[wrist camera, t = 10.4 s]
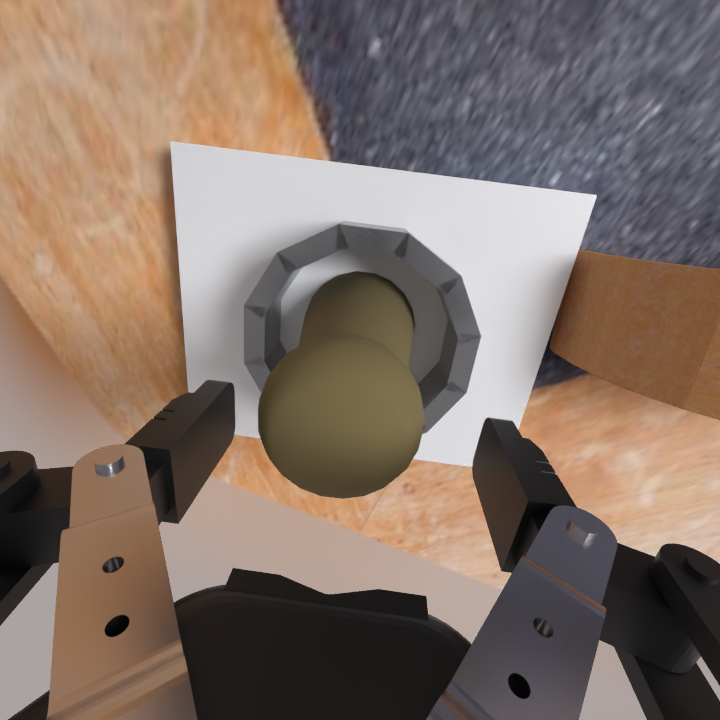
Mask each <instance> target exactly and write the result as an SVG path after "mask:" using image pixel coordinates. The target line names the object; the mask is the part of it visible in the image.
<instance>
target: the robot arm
mask: <svg viewBox="0 0 720 720" xmlns="http://www.w3.org/2000/svg"><path fill="white" fill-rule="evenodd" d="M234 432H235V389H234V385H233V383H231V382H224V381H216V380H206V381H205V382H204V383H203V384H202V385H201V386H200V387H199V388H198V389H197V390H196V391H195V392H194V393H189V392H188V393H186V394H184V395H182V396H180V397H177V398H175V399H173V400H172V401H171V402H170V403H169V404H168V405H167V406H165V407H164V408H163V411H160V412H159V413H158V414H157V415H156V416H155V417H154V419H151V420H150V421H149V422H148V423H147V424H146V425H145V426H144V427H143V428H142V429H140V430H139V431H138V432H137V433H136V434H135V435H134V436H133V437H132V438H131V439H130V440H129V441H127V442H126V443H125V444H122V445H121V444H120V445H111V446H107V447H102V448H100V449H97V450H94V451H92V452H90V453H88V454H86V455H85V456H83V457H82V458H81V459H80V460H78V462H77V463H76V464H75V466H74V467H62V468H50V469H37V465H36V462H35V458H34V456H33V455H31V454H30V453H27V452H23V451H6V452H0V625H1V624H2V623H3V622H4V621H5V620H6V618H7V617H8V616H9V615H10V614H11V612H12V611H13V610H14V609H15V608H16V607H17V605H18V604H19V603H20V602H21V601H22V600H23V598H24V597H25V596H26V595H27V594H28V593H29V591H30V590H31V589H32V588H33V587H34V585H35V584H36V583H37V582H38V581H39V580H40V578H41V577H42V576H43V575H44V574H45V573H46V571H47V570H48V569H49V568H50V567H51V565H52V564H53V563H58V562H59V569H58V582H57V597H56V611H55V624H54V637H53V652H52V665H51V680H50V690H49V691H48V692H46V693H45V694H43V695H42V696H41V697H39V698H38V699H36V700H35V701H33V702H32V703H31V704H29V705H28V706H26V707H25V708H24V709H22V710H21V711H19V712H18V713H17V714H15V715H14V716H12V717H11V718H10V719H8V720H579V716H580V713H581V709H582V705H583V701H584V697H585V693H586V689H587V685H588V681H589V677H590V674H591V670H592V666H593V662H594V658H595V654H596V650H597V646H598V642H599V640H601V641H603V642H605V643H608V644H610V645H612V646H614V647H615V650H616V652H617V654H618V656H619V659H620V661H621V663H622V665H623V668H624V670H625V672H626V674H627V676H628V678H629V681H630V683H631V685H632V687H633V690H634V692H635V694H636V696H637V698H638V700H639V702H640V705H641V707H642V709H643V712H644V714H645V716H646V718H647V720H720V701H719V699H718V698H717V696H716V694H715V693H714V691H713V689H712V688H711V686H710V685H709V683H708V681H707V680H706V678H705V676H704V675H703V673H702V671H701V670H700V668H699V667H698V665H697V663H696V662H697V660H698V659H699V658H700V657H701V656H702V658H703V660H704V661H705V663H706V664H707V666H708V668H709V669H710V671H711V673H712V674H713V675H714V677H715V679H716V680H717V682H718V684H719V685H720V564H719V563H718V562H716V561H715V560H713V559H712V558H710V557H708V556H707V555H705V554H703V553H701V552H699V551H697V550H695V549H693V548H690V547H687V546H684V545H680V544H666V545H664V546H662V547H661V549H660V550H659V552H658V554H657V555H656V557H654V556H651V555H649V554H646V553H643V552H640V551H638V550H635V549H632V548H630V547H627V546H624V545H622V544H619V543H617V540H616V538H615V536H614V534H613V532H612V531H611V530H610V529H609V527H608V526H607V525H606V524H605V523H603V522H602V521H601V520H600V519H598V518H597V517H595V516H594V515H592V514H590V513H589V512H587V511H584V510H582V509H579V508H577V507H576V505H575V504H574V502H573V500H572V499H571V497H570V495H569V494H568V492H567V491H566V489H565V487H564V486H563V484H562V482H561V481H560V479H559V478H558V476H557V475H555V471H554V469H553V468H552V466H551V465H549V461H548V460H547V458H546V456H545V455H544V453H543V451H542V450H541V449H540V448H539V447H538V446H536V445H535V444H534V443H533V442H532V441H531V440H529V439H526V438H522V436H521V434H520V433H519V431H518V429H517V427H516V425H515V424H514V422H513V421H511V420H503V419H496V418H489V417H488V418H486V419H485V421H484V423H483V427H482V430H481V434H480V437H479V441H478V444H477V448H476V451H475V455H474V458H473V466H472V472H473V479H474V482H475V485H476V489H477V492H478V495H479V498H480V502H481V505H482V508H483V512H484V515H485V518H486V522H487V525H488V528H489V531H490V535H491V538H492V541H493V545H494V548H495V551H496V555H497V558H498V561H499V564H500V568H501V571H504V572H511V573H512V574H511V576H510V578H509V580H508V581H507V583H506V585H505V587H504V589H503V590H502V592H501V594H500V596H499V597H498V599H497V601H496V603H495V604H494V606H493V608H492V610H491V611H490V613H489V615H488V617H487V619H486V620H485V622H484V624H483V626H482V627H481V629H480V631H479V633H478V634H477V636H476V638H475V640H474V642H473V643H472V644H471V643H470V642H469V641H468V640H467V639H466V638H464V637H463V636H462V635H461V634H460V633H459V632H458V631H456V630H454V629H453V628H452V627H451V626H449V625H447V624H446V623H444V622H443V621H441V620H439V619H437V618H436V617H433V616H431V615H429V614H428V610H427V599H426V596H421V595H414V594H408V593H401V592H394V591H387V590H380V589H376V590H367V591H359V592H349V593H341V594H324V593H321V592H319V591H316V590H314V589H312V588H309V587H307V586H304V585H302V584H300V583H298V582H295V581H293V580H291V579H288V578H286V577H283V576H281V575H276V574H270V573H263V572H256V571H249V570H242V569H235V568H233V569H232V572H231V574H230V576H229V579H228V581H227V583H226V585H220V586H215V587H211V588H206V589H203V590H201V591H198V592H195V593H192V594H190V595H188V596H186V597H184V598H181V599H179V600H178V601H176V602H173V597H172V592H171V587H170V583H169V577H168V572H167V567H166V562H165V556H164V551H163V546H162V541H161V536H160V531H159V525H160V523H161V522H162V521H163V522H170V523H177V524H178V523H179V522H180V520H181V519H182V517H183V516H184V514H185V513H186V511H187V510H188V508H189V507H190V505H191V504H192V502H193V500H194V499H195V497H196V496H197V494H198V493H199V491H200V490H201V488H202V487H203V485H204V483H205V482H206V481H207V479H208V478H209V476H210V474H211V473H212V471H213V470H214V468H215V467H216V465H217V464H218V462H219V461H220V459H221V458H222V456H223V455H224V453H225V452H226V450H227V448H228V447H229V445H230V444H231V442H232V439H233V436H234Z"/></svg>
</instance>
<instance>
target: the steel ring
mask: <svg viewBox="0 0 720 720" xmlns="http://www.w3.org/2000/svg"><path fill="white" fill-rule="evenodd" d="M340 250H350V251H358V252H365V253H373V254H381V255H389V256H396V257H399V258H401V259H402V260H403V261H404V262H406V263H407V264H408V265H409V266H411V267H412V268H413V269H414V270H416V271H417V272H418V273H420V274H421V275H422V276H423V277H425V278H426V279H427V280H428V281H430V282H431V283H432V284H433V285H435V286H436V288H437V291H438V293H439V296H440V299H441V302H442V305H443V307H444V310H445V313H446V316H447V319H448V323H447V327H446V332H445V336H444V341H443V346H442V350H441V355H440V359H439V362H438V363H437V364H436V365H435V366H434V367H433V368H432V369H431V371H430V372H429V373H428V374H427V375H426V376H425V377H424V378H423V379H422V380H421V381H420V382H419V384H418V386H419V389H420V393H421V398H422V404H423V410H424V415H425V422H424V427H423V432H422V434H424V433H427V432H428V431H429V430H430V429H431V428H432V427H433V426H434V425H435V424H436V423H437V422H438V421H439V420H440V419H441V418H442V417H443V416H444V415H445V414H446V413H447V412H448V411H449V410H450V409H451V408H452V407H453V406H454V405H455V404H456V403H457V402H458V401H459V400H460V399H461V398H462V397H463V396H464V395H465V394H466V393H467V389H468V385H469V382H470V378H471V374H472V370H473V366H474V362H475V358H476V355H477V351H478V347H479V343H480V339H481V334H480V331H479V328H478V325H477V322H476V319H475V316H474V313H473V310H472V306H471V303H470V300H469V297H468V294H467V291H466V288H465V285H464V282H463V279H462V276H461V275H460V274H459V273H458V272H457V271H456V270H455V269H454V268H453V267H452V266H451V265H449V264H448V263H446V262H445V261H444V260H443V259H442V258H440V257H439V256H438V255H437V254H435V253H434V252H433V251H432V250H431V249H429V248H428V247H427V246H426V245H424V244H423V243H422V242H421V241H420V240H418V239H417V238H416V237H415V236H413V235H412V234H411V233H410V232H409V231H407V230H406V229H405V228H396V227H388V226H381V225H373V224H365V223H357V222H350V221H344V222H341V223H339V224H338V225H335V226H333V227H331V228H329V229H327V230H325V231H322V232H320V233H318V234H316V235H314V236H312V237H309V238H307V239H305V240H303V241H301V242H299V243H296V244H294V245H292V246H289V247H287V248H285V249H283V250H281V251H278V252H277V253H276V255H275V256H274V258H273V260H272V261H271V263H270V264H269V266H268V268H267V269H266V271H265V272H264V274H263V275H262V277H261V279H260V280H259V282H258V283H257V285H256V287H255V288H254V290H253V291H252V293H251V294H250V296H249V298H248V299H247V301H246V302H245V304H244V364H245V366H246V368H247V369H248V371H249V373H250V375H251V376H252V378H253V380H254V381H255V383H256V385H257V387H258V388H259V390H260V392H261V393H262V390H263V388H264V385H265V383H266V380H267V377H268V376H269V375H270V373H271V372H272V370H273V369H274V368H275V367H276V366H277V365H278V363H279V362H280V361H281V360H282V359H283V358H284V357H285V356H286V354H287V352H286V351H285V349H284V347H283V345H282V343H281V341H280V327H281V299H282V297H283V295H284V294H285V293H286V291H287V290H288V288H289V287H290V285H291V284H292V282H293V281H294V279H295V278H296V276H297V275H298V273H299V272H300V270H301V269H302V267H304V266H307V265H309V264H311V263H313V262H316V261H318V260H320V259H322V258H325V257H327V256H329V255H331V254H334V253H336V252H338V251H340Z"/></svg>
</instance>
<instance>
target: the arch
mask: <svg viewBox="0 0 720 720" xmlns="http://www.w3.org/2000/svg"><path fill="white" fill-rule="evenodd" d="M549 349H551V350H552V351H553V352H554V353H556V354H557V355H559V356H560V357H562V358H563V359H565V360H567V361H568V362H570V363H571V364H573V365H575V366H577V367H579V368H581V369H583V370H585V371H587V372H589V373H591V374H593V375H595V376H597V377H599V378H601V379H604V380H606V381H609V382H611V383H613V384H616V385H618V386H621V387H623V388H626V389H628V390H631V391H633V392H635V393H638V394H641V395H644V396H647V397H650V398H652V399H655V400H658V401H661V402H664V403H667V404H670V405H673V406H675V407H678V408H681V409H684V410H688V411H691V412H694V413H698V414H701V415H705V416H708V417H712V418H715V419H718V420H720V269H713V268H704V267H695V266H686V265H679V264H671V263H663V262H655V261H647V260H641V259H634V258H627V257H620V256H614V255H608V254H603V253H597V252H592V251H588V250H584V251H583V250H578V253H577V256H576V259H575V262H574V265H573V268H572V271H571V274H570V277H569V280H568V283H567V286H566V289H565V292H564V295H563V298H562V301H561V304H560V307H559V310H558V313H557V316H556V320H555V325H554V329H553V333H552V338H551V342H550V346H549Z"/></svg>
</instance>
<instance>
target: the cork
mask: <svg viewBox="0 0 720 720" xmlns="http://www.w3.org/2000/svg"><path fill="white" fill-rule="evenodd" d="M414 330H415V321H414V315H413V309H412V307H411V305H410V303H409V301H408V299H407V297H406V295H405V294H404V292H403V291H401V290H400V289H399V288H398V287H397V286H396V285H395V284H394V283H393V282H392V281H390V280H388V279H386V278H384V277H382V276H380V275H377V274H375V273H368V272H360V271H354V272H350V273H345V274H340V275H337V276H336V277H334V278H332V279H331V280H329V281H327V282H325V283H324V284H323V285H322V286H321V287H320V288H319V289H318V290H317V292H316V293H315V294H314V295H313V296H312V298H311V301H310V303H309V306H308V308H307V311H306V314H305V318H304V323H303V327H302V332H301V336H300V340H299V345H298V347H297V348H295V349H293V350H291V351H290V352H288V353H287V354H286V356H285V357H284V358H283V359H282V360H281V361H280V362H279V363H278V365H277V366H276V367H275V368H274V369H273V370H272V372H271V373H270V375H269V376H268V377H267V380H266V383H265V385H264V388H263V390H262V393H261V396H260V398H259V405H258V432H259V435H260V437H261V440H262V443H263V445H264V448H265V451H266V453H267V455H268V457H269V459H270V460H271V461H272V463H273V464H274V465H275V467H276V468H277V469H278V470H279V472H280V473H281V474H282V475H283V476H284V477H286V478H287V479H288V480H290V481H291V482H292V483H294V484H295V485H297V486H298V487H299V488H302V489H304V490H307V491H309V492H312V493H315V494H317V495H320V496H326V497H334V498H342V499H343V498H351V497H359V496H365V495H368V494H370V493H372V492H375V491H377V490H380V489H382V488H384V487H385V486H387V485H388V484H389V483H390V482H392V481H393V480H394V479H395V478H396V477H398V476H399V475H400V474H401V473H402V472H404V471H405V470H406V469H407V467H408V466H409V464H410V463H411V461H412V459H413V458H414V456H415V455H416V453H417V451H418V449H419V445H420V441H421V437H422V432H423V427H424V422H425V415H424V410H423V404H422V398H421V393H420V389H419V386H418V384H417V382H416V381H415V379H414V377H413V375H412V374H411V372H410V370H409V368H408V364H409V359H410V353H411V347H412V342H413V336H414Z"/></svg>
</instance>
